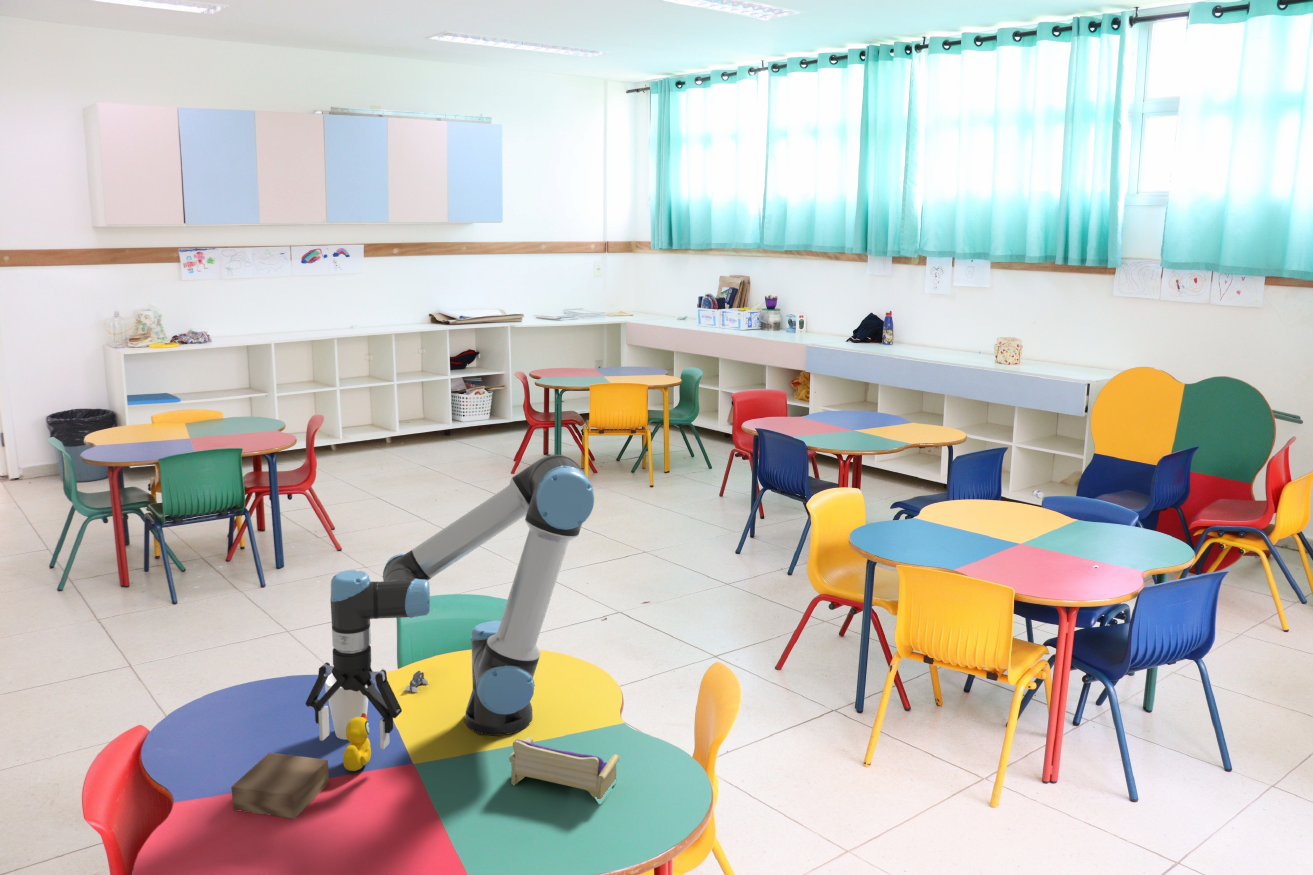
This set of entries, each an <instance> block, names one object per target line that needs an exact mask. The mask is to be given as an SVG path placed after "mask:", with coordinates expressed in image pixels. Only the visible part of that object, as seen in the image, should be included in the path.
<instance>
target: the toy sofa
mask: <svg viewBox="0 0 1313 875" xmlns="http://www.w3.org/2000/svg"><path fill="white" fill-rule="evenodd" d="M512 749H513V752H512V753H511V754H510V755H509V756H508V760H509V762H510V763H511V780H510V781H511V782H510V783H511V785H512V784H514V785H513V786H516V785H517V784H518V783H519V782H520V781H521V780H523V779H525V777H527V778H531V779H536V780H540V781H545V782H549V783H553V784H559V785H563V786H568V787H571V788H575V789H580V790H585V791H587V792H588V793H589V794H590V795H591V796H592V798H593V797H597V799H601V798H602V797H603V795H604V794H605V792H606V791H607V790H608V788H609V787H610V786H611V784H612V783H613V782H614V780H615V779H616V780H617V763H618V762H619V760H620V756H619V754H616V753H615V754H612V756H611V757H610V758H609V760H608V761H606V762H605V761H604V759H603V758H602V757H600V756H596V755H592V754H584V753H583V754H582V753H577V752H573V751H569V750H560V749H556V748H551V747H547V746H545V745H540V744H535V743H534V739H533V737H531V736H527V737H526V738H525V739H524V740H523V739H518V738H517V739H515V740H514V741H513V743H512ZM516 783H517V784H516ZM515 784H516V785H515Z"/></svg>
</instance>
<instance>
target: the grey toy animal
mask: <svg viewBox="0 0 1313 875" xmlns="http://www.w3.org/2000/svg"><path fill="white" fill-rule="evenodd" d="M412 675H413V676H412V678H411V680H410V682H409V685H407V686H406V687H405V690H406V691H409V692H411V693H412V692H413V693H418V688H419V687H420V686H421V685H422V684H423V685H429V682H428V680H427V679H426V678H425V674H424V672H421V670H418V671H416V672H414V674H412Z"/></svg>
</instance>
